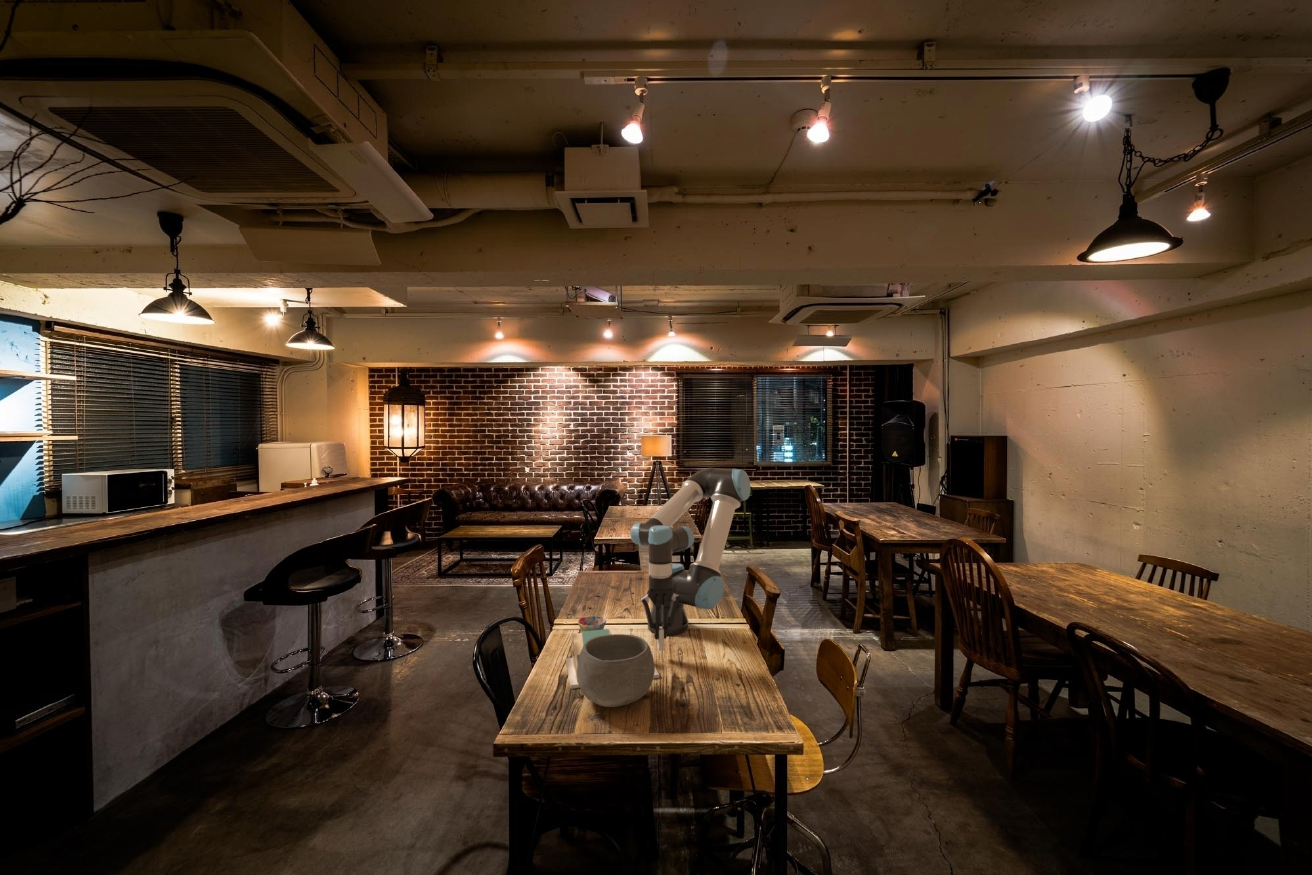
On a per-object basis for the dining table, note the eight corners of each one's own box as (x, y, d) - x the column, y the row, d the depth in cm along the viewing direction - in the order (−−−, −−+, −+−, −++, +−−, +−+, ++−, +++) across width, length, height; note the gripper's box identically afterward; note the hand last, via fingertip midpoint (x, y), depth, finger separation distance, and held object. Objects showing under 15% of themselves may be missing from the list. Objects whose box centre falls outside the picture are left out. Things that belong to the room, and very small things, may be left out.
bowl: (662, 685, 149) (662, 633, 149) (644, 726, 128) (643, 666, 128) (592, 678, 154) (592, 627, 153) (564, 716, 133) (564, 658, 133)
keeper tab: (609, 630, 157) (609, 628, 157) (612, 649, 152) (612, 647, 152) (581, 633, 155) (581, 631, 155) (583, 652, 150) (583, 650, 150)
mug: (602, 659, 166) (602, 626, 166) (574, 657, 167) (574, 624, 167) (611, 644, 178) (611, 613, 177) (585, 642, 179) (585, 612, 179)
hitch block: (645, 652, 171) (645, 625, 171) (659, 677, 154) (659, 647, 154) (565, 661, 165) (565, 633, 165) (570, 688, 147) (570, 657, 147)
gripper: (676, 570, 171) (676, 641, 171) (637, 573, 168) (638, 645, 168) (683, 576, 164) (683, 651, 164) (643, 579, 160) (643, 655, 161)
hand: (660, 648), depth 166 cm, fingers closed
